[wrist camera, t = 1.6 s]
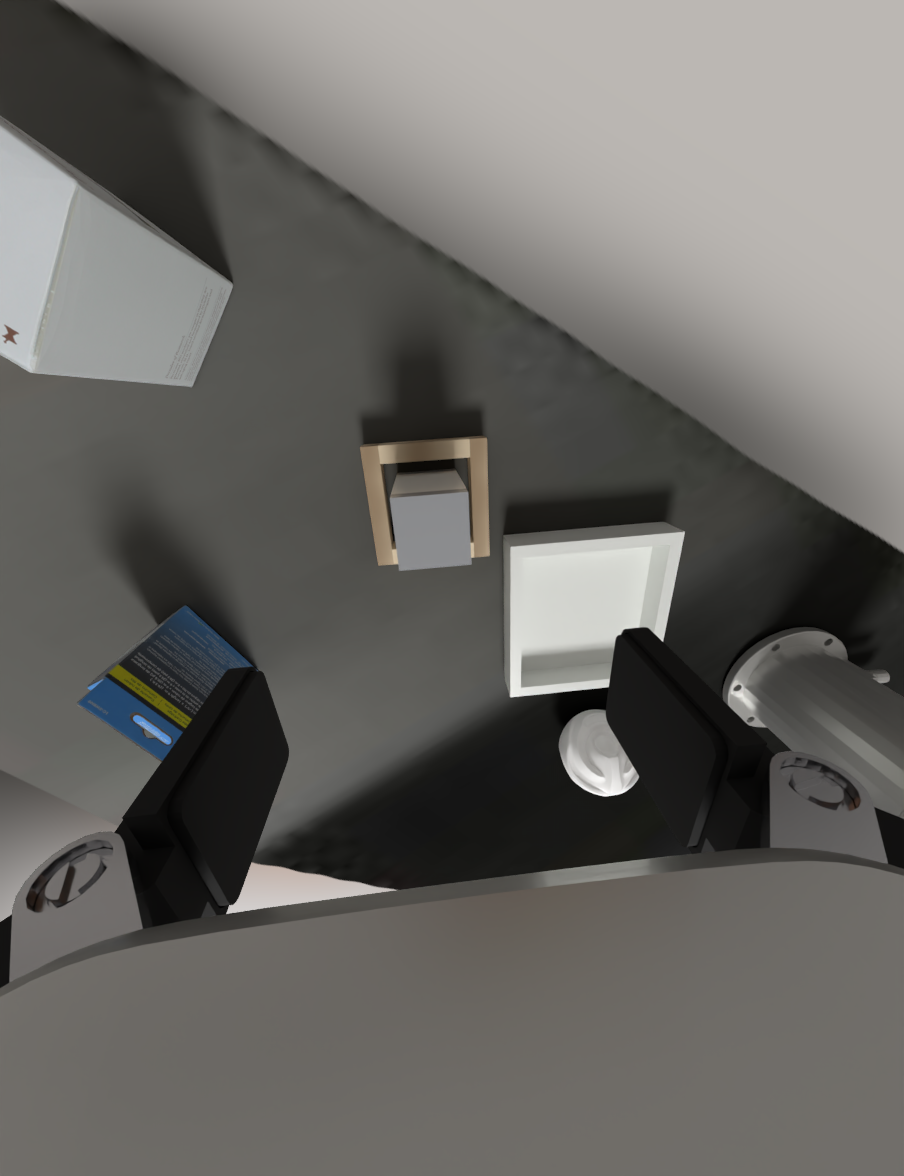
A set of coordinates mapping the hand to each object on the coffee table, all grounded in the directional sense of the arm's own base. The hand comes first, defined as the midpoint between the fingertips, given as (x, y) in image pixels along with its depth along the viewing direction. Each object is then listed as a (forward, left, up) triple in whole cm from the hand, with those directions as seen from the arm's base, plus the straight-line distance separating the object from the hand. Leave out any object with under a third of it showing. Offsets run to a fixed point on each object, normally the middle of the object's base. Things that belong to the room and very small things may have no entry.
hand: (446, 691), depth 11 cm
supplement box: (+16, -14, -24) cm, 32 cm away
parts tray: (-13, +11, -23) cm, 29 cm away
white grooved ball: (-15, +26, -24) cm, 38 cm away
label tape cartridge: (+21, +12, -24) cm, 34 cm away
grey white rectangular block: (0, 0, -23) cm, 23 cm away
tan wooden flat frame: (0, 0, -23) cm, 23 cm away
